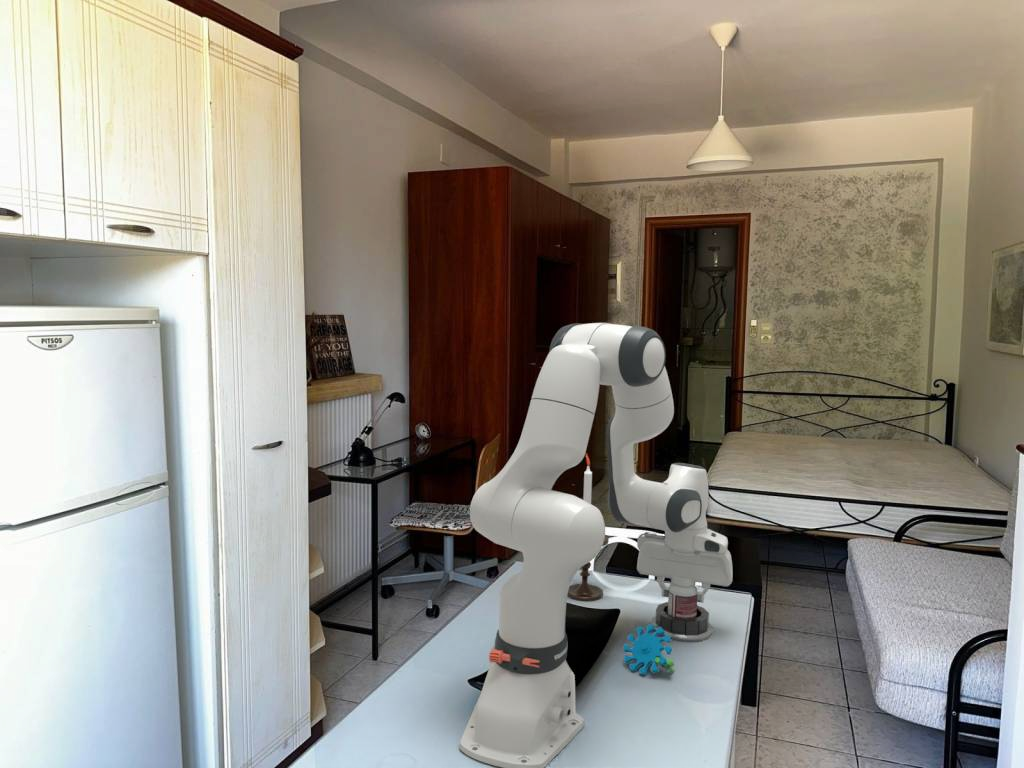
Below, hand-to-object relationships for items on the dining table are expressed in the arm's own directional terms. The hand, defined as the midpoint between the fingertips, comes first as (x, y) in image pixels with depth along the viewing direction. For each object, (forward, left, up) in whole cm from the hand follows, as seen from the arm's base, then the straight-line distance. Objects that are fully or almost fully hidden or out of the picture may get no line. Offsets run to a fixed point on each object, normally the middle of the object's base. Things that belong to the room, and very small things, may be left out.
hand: (682, 598), depth 157 cm
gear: (-21, +3, -7) cm, 23 cm away
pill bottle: (0, 0, -6) cm, 6 cm away
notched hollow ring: (0, 0, -7) cm, 7 cm away
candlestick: (+11, +25, -7) cm, 28 cm away
